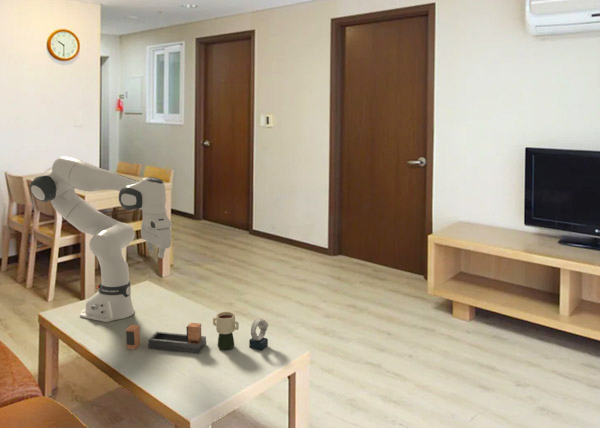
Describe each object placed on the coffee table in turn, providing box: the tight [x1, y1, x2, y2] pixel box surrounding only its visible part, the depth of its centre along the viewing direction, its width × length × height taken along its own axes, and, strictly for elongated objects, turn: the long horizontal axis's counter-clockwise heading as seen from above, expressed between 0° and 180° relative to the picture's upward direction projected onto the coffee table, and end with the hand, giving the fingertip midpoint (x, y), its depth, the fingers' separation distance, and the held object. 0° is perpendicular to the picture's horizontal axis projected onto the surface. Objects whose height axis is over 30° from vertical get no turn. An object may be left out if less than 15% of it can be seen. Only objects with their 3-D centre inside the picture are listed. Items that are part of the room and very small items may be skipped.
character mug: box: [212, 311, 240, 350], centre depth 192 cm, size 11×7×13 cm, turn 68°
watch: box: [248, 318, 269, 351], centre depth 193 cm, size 6×8×11 cm
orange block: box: [125, 324, 141, 350], centre depth 192 cm, size 5×3×8 cm
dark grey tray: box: [147, 322, 207, 355], centre depth 192 cm, size 20×8×10 cm, turn 80°
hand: (155, 254), depth 198 cm, fingers open, 8 cm apart
